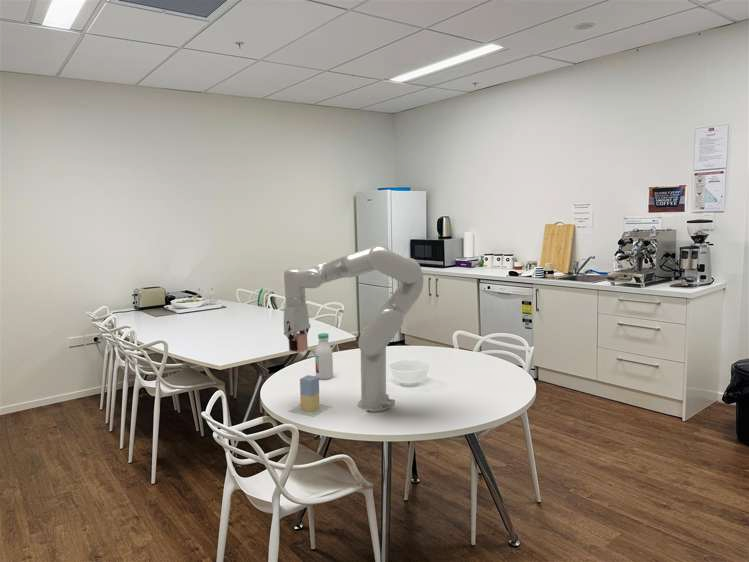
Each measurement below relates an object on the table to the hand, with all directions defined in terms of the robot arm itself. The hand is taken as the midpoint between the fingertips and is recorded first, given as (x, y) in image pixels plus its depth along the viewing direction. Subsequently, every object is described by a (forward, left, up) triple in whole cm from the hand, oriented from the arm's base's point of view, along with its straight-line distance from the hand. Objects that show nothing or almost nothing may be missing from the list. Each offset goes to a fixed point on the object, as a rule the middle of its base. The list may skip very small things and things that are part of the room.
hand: (298, 348), depth 207 cm
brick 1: (0, 0, -1) cm, 1 cm away
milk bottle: (+13, -35, -23) cm, 43 cm away
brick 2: (-6, +2, -16) cm, 18 cm away
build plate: (-6, +2, -23) cm, 24 cm away
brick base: (-6, +2, -22) cm, 23 cm away
